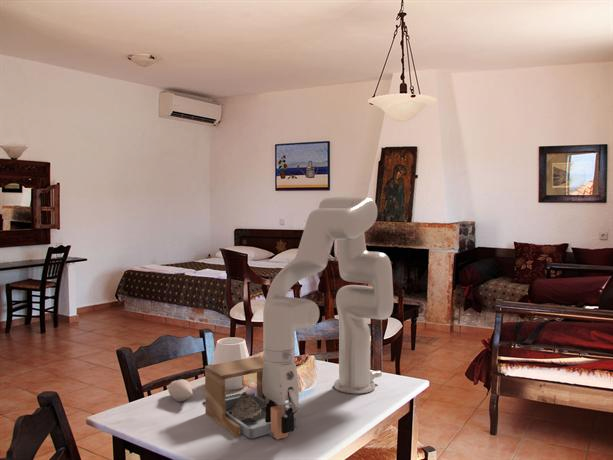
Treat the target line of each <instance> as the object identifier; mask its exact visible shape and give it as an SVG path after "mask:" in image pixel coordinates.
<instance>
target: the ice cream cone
mask: <svg viewBox="0 0 613 460" xmlns="http://www.w3.org/2000/svg"><path fill="white" fill-rule="evenodd" d="M167 391H168V394H169V395H170V396H171V398H172V399H174V400H175V401H176V402H184V401H186V400H188V399H189V398H190V397H191V396H192V395H193V389H192V385H191V383H190V382H189V381H188V380H187V379H178V380H174V381H171V382H170V383H169V385H168V388H167Z"/></svg>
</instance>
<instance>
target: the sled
mask: <svg viewBox="0 0 613 460" xmlns="http://www.w3.org/2000/svg"><path fill="white" fill-rule="evenodd" d="M247 394H248V396H249V397H251V398H252V399H254V400H255V402H257V404H258V405H259V406H260V408H262V409H264V410H265V407H266V406H264V399H262V398H260V397H259V396H257V395H256V394H255V393H254V392H251V393H250V392H249V393H247ZM239 398H240V396H237V397H233V398H229V399H225V415H226V417H228V418H229V419H231V420H232V421H233V422H235V423H236V424H238V425H239V426H240V433H242V434H243V435H244V436H246V437H247V438H248V439H249V440H252V439H256V438H260V437H263V436H267V435H270V436H272V437H273V438H275V439H276V440H281V439H284V438H287V437H288V436H289V432H288V433H285V434H283V433H282V431H281V417H283V413H282V409H281V405H277V406H273V407H271V422H269V423H266V424H263V425H260V426H256V427H253V428H251V427H250V426H248V425H247V424H245V423H244V422H241V421H240V420H238V419H237V418H235V417H234V416H232V415H231V414H230V413H229V412H230V410H231V409H232V408H233V407H234V406H235V404H236V403H237V402H238V399H239ZM288 408H289V407H287V408H286V411H287V410H288ZM295 427H297V418H296V417H294V428H295Z"/></svg>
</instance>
